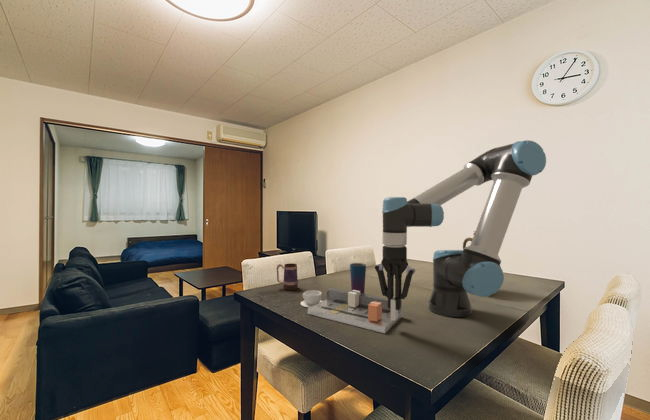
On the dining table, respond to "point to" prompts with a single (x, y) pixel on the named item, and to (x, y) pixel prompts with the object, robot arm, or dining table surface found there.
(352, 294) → the fader
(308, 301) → the teacup
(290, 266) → the mug
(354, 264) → the cup
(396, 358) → the dining table surface
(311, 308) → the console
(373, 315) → the block
